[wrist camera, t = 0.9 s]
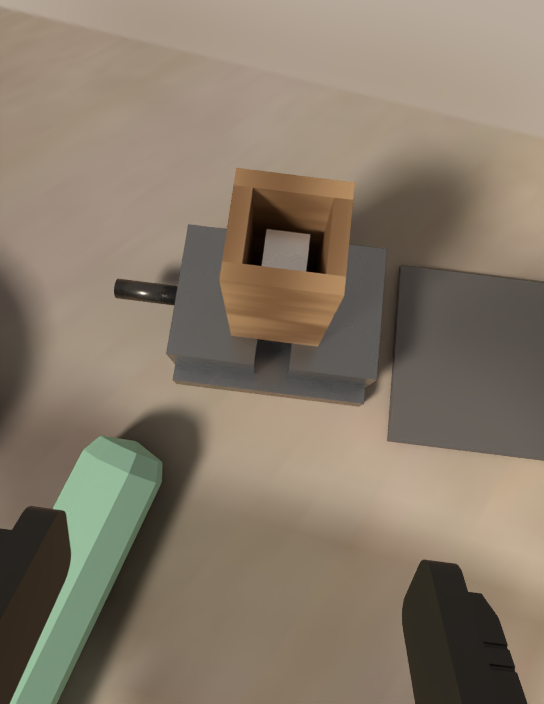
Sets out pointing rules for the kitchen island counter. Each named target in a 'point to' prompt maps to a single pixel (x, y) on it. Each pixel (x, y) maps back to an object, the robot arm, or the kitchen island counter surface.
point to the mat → (468, 363)
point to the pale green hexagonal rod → (91, 554)
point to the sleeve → (283, 284)
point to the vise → (263, 355)
